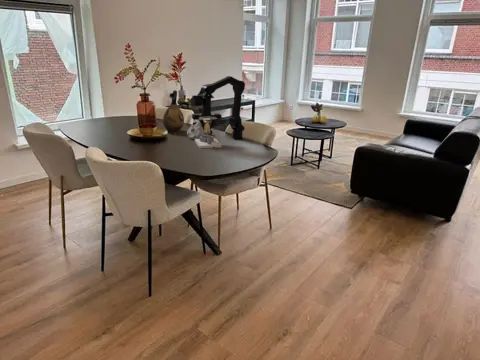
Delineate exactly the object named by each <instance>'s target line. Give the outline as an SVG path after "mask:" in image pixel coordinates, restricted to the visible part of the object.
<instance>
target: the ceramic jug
mask: <svg viewBox="0 0 480 360" xmlns="http://www.w3.org/2000/svg"><path fill="white" fill-rule="evenodd" d="M168 97H169V98H170V100H171V102H170V104H169V106H168V108H166V110H165V112H164V115H163V119H162V123H163V127H164V128H165V129H166V132H167V131H168V132H167V133H169V134H170V133H171V134H179V132H180V131H181V129H182V128H183V127H184V124H185V117H184V114H183V112H182V110H181V108H180V107H179V105H178V103H177V100H178V99H177V98H178V91H177V89H176V90H175V89H174V90H173V91H172V92H170V93H169V95H168Z"/></svg>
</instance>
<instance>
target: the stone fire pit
mask: <svg viewBox="0 0 480 360" xmlns="http://www.w3.org/2000/svg"><path fill="white" fill-rule="evenodd" d="M194 143H195V144H196V145H197V146H198V148H199V149H211V148H213V147H215V148H222V144H221V143H220V141H218V139H217V138H215V137H214V135H208V134H203V135H201V136H200V137H199V138H198V139H194Z"/></svg>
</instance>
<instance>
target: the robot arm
mask: <svg viewBox="0 0 480 360" xmlns="http://www.w3.org/2000/svg"><path fill="white" fill-rule="evenodd" d="M227 85H231V86H232V90H233V91H232V92H233V93H234V95H233V106H232V107H233V110H232V116H229V118H228V119H229V121H228V124H229V126H230V129H232V131H231V138H232V139H233V138H234V139H233V140H244V138H243V132H244V131H245V126H244V125H243V124H242V117H241V106H242V96H243V93H244V92H245V91H244V90H245V88H246V87H245V86H246V82H245V81H243V80H239V79H237V78H234V77H233V76H231V75H228V76H226V77H224V78H221V79H219V80H217V81H215V82H213V83H206V84H203V85H202V86H201V87H200V90H199V92H198V93H197V95H194V94H192V95H191V98H190V105H191V107H198V108H197V110H198V111H197V112H198V113H192V114H191V119H192V120H197V122H198V121H200V123H201V128H202V130H204V125H203V121H204V119H207V118H208V119H209V118H210V119H209V121H210V130H212V127H213V125H214V124H215V122H216V121H217V120H222V118H223V117H222V114H221V113H218V112H217V113H216V112H215V113H213V114H212V99H215V96H214V95H213V94H214V93H215V92H216V91H217V90H219V89H220V88H222V87H225V86H227Z"/></svg>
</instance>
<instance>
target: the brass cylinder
mask: <svg viewBox="0 0 480 360" xmlns="http://www.w3.org/2000/svg"><path fill="white" fill-rule="evenodd" d="M203 125H204V130H203V129H202V130H203V131H202V133H203V135H208V134H210V130H211V129H210V120H203Z"/></svg>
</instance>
